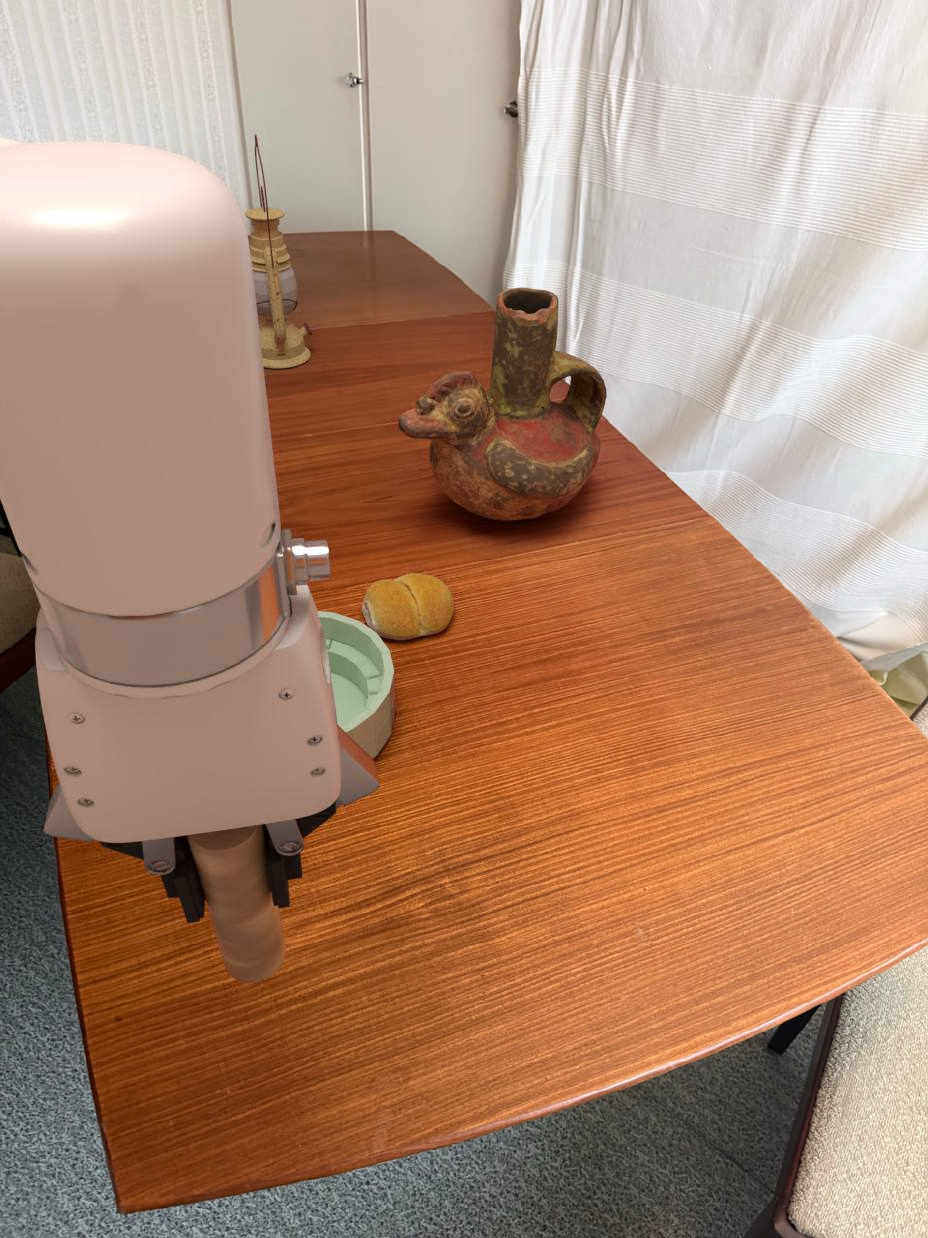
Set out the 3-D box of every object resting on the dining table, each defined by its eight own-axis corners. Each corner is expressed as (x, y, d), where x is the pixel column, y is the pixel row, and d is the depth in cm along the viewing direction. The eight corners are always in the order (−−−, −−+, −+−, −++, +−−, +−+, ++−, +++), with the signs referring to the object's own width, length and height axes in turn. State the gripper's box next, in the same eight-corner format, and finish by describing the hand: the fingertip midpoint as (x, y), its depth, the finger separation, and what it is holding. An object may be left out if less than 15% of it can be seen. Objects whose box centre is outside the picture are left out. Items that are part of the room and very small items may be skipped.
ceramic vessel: (369, 502, 98) (360, 288, 82) (548, 451, 109) (572, 252, 92) (440, 582, 87) (446, 354, 71) (631, 517, 98) (675, 305, 81)
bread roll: (465, 631, 82) (466, 600, 79) (378, 651, 79) (377, 620, 77) (436, 581, 88) (436, 550, 85) (354, 599, 85) (352, 568, 82)
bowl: (212, 807, 65) (198, 758, 61) (213, 669, 77) (202, 620, 73) (407, 777, 68) (407, 729, 64) (381, 649, 80) (379, 601, 76)
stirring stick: (223, 989, 42) (183, 856, 34) (223, 930, 44) (185, 793, 36) (287, 977, 42) (263, 844, 35) (284, 920, 45) (260, 783, 37)
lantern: (320, 370, 124) (302, 144, 104) (253, 376, 122) (221, 146, 102) (308, 338, 133) (290, 123, 113) (246, 342, 130) (215, 124, 111)
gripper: (402, 502, 31) (400, 797, 43) (-80, 537, 28) (64, 845, 40) (439, 636, 26) (425, 931, 38) (-154, 698, 23) (39, 998, 35)
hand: (238, 885), depth 39 cm, fingers closed on stirring stick, 3 cm apart
